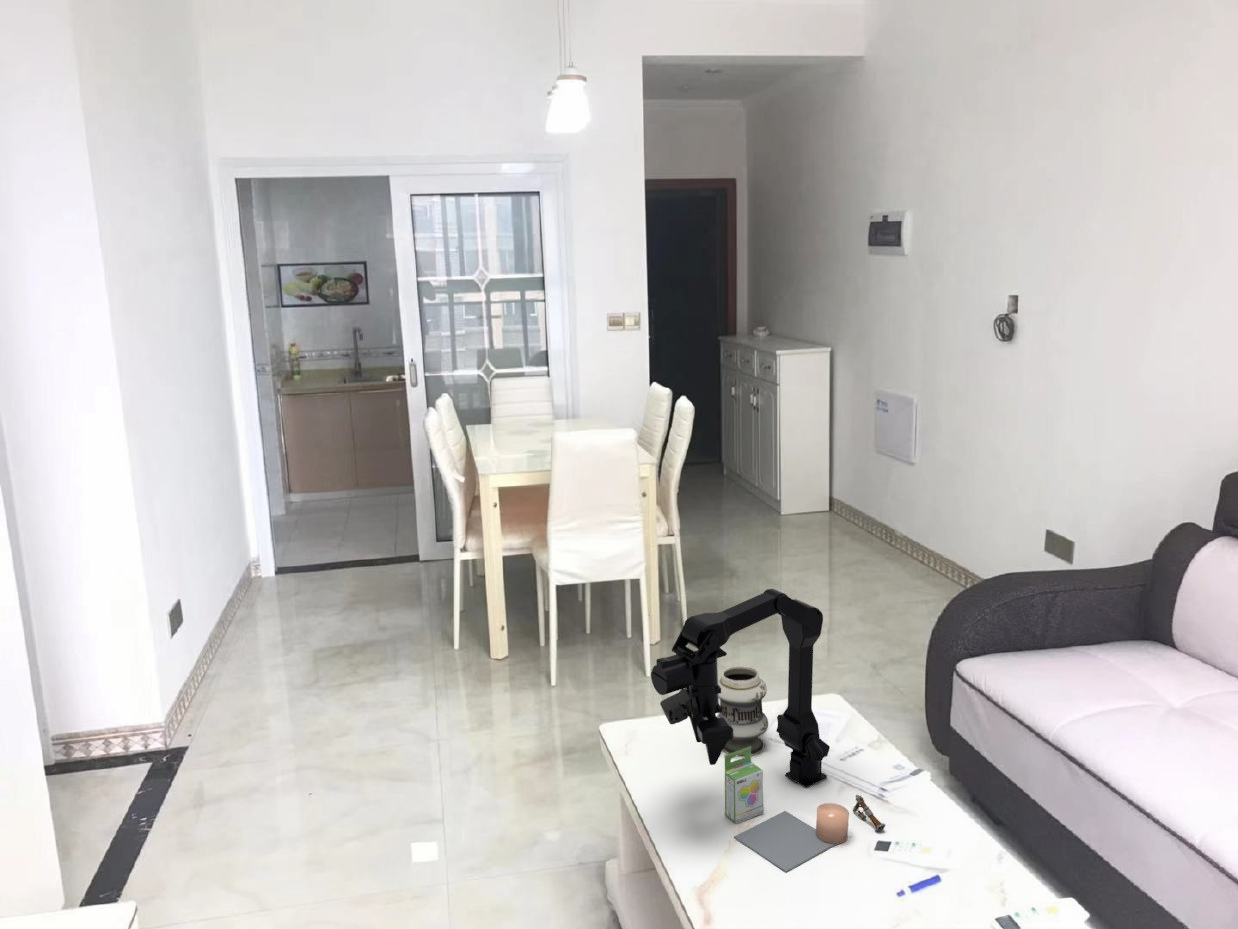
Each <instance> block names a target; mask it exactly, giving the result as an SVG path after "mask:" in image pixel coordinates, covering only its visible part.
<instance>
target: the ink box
mask: <svg viewBox="0 0 1238 929" xmlns="http://www.w3.org/2000/svg"><path fill="white" fill-rule="evenodd" d="M741 754H745V756H743V757H742V758H739V759H736V760H733V761H731V760H732V759H734V758H736V757H738V756H737V755H741ZM764 807H765V806H764V770H763V769H762V768H761V767H759V766H757V765H756V764H755V763H754V762H752V755H751V746H750V747H747V748H744V749H741V750H739V751H736V752H733V753H730V754H729V753H727V754H725V755H724V815H725V816H726V817H727V818H729V820H731V822H733V823H734V824H736V825H737V824H741V823H743V822H745V821H747V820H750V819H753V818H755V817H757V816H760V815H763V814H764V812H765V811H764Z"/></svg>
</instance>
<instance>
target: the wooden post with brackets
mask: <svg viewBox="0 0 1238 929" xmlns="http://www.w3.org/2000/svg"><path fill="white" fill-rule="evenodd" d="M855 801H856V804H855V805H854V806H853V808H852V812H853V813H856V812H857V814H858V815H857V817H859V819H860V820H861V821H863V822H865V821H867V818H868V819H869V820H870V821H871V822H872V824H873V826H874V828H875V830H874V832H875V833H877V832H879V831H883V830H884V829H885V827H886V826H887V825H886V823H882V822H881V821H880V820H879V819H878V818H877V817H876V816H875V815H874V812H873V811H872V810H871V808H870V806H867V804H866V802H865V799H864V797H863V796H862V795H859V794H856V795H855ZM859 808H862V809H863V810H862V811H861V810H859Z"/></svg>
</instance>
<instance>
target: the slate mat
mask: <svg viewBox="0 0 1238 929" xmlns="http://www.w3.org/2000/svg"><path fill="white" fill-rule="evenodd" d="M733 839H734V840H736V841H737V842H740V843H741V844H742V845H744V846H745V847H746V848H748V849H750V850H751V851H753V852H754V853H756V854H757V855H758V856H760V857H762V858H763V859H765V860H766V861H768V862H770V863H771V864H772V865H774V866H776V867H777V868H779V869H780V870H781V871H783V872H784V873H785V874H787V873H789V872H790V871H792V870H793V869H796V868H797V867H799V866H801V865H802V864H805V863H806V862H808V861H810V860H812V859H814V858H815V857H817V856H819V855H821V854H823V853H824V852H826V851H828V850H830V849H831V848H834V847H835V846H836V845H838V844H833V843H827V842H824V841H822V840H820V839H819V838H818V837H817V836H816V827H813V826H812V825H810V824H808V823H806V822H805V821H803V820H802V819H800V818H798V817H797V816H795V815H793V814H791V813H789V812H788V811H786V810H783V811H782V812H780V813H778V814H775V815H774V816H771V817H770V818H767V819H766V820H764V821H762V822H760V823H757V824H756V825H754V826H752V827H750V828H748V829H746V830H744V831H742V832H740V833H738V834H736V835H734V836H733Z"/></svg>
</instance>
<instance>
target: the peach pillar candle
mask: <svg viewBox="0 0 1238 929" xmlns="http://www.w3.org/2000/svg"><path fill="white" fill-rule="evenodd" d="M849 819H850V812H849V810H848V809H847V808H846V807H845V806H843V805H841V804H839V803H832V802H826V803H822V804H819V805H818V806H817V808H816V820H815V824H816V826H815V829H816V836H817V837H818V838H819V839H820V840H822V841H824V842H827V843H833V844H837V845H838V844H841V843H842V844H843V843H845V842H846V841H847V840H848V835H849Z"/></svg>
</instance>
